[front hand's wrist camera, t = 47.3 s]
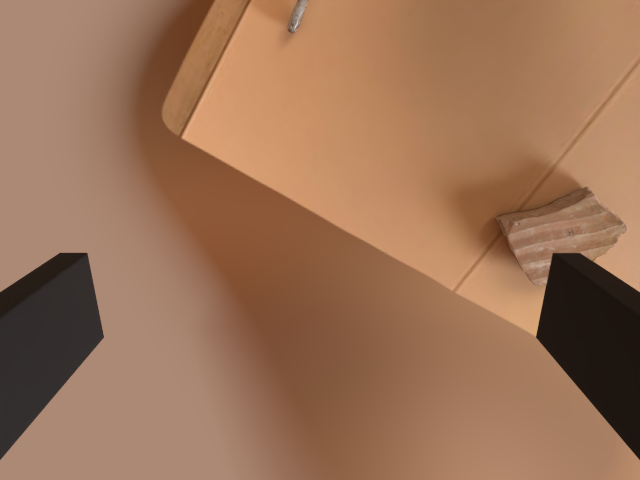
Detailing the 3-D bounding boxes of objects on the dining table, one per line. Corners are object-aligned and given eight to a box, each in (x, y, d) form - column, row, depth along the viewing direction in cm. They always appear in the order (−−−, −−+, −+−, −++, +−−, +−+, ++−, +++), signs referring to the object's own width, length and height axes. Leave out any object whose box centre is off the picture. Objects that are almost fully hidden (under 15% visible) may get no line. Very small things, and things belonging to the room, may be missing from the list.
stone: (529, 291, 57) (538, 300, 55) (491, 218, 54) (500, 224, 52) (623, 243, 55) (637, 250, 53) (591, 163, 52) (604, 167, 49)
